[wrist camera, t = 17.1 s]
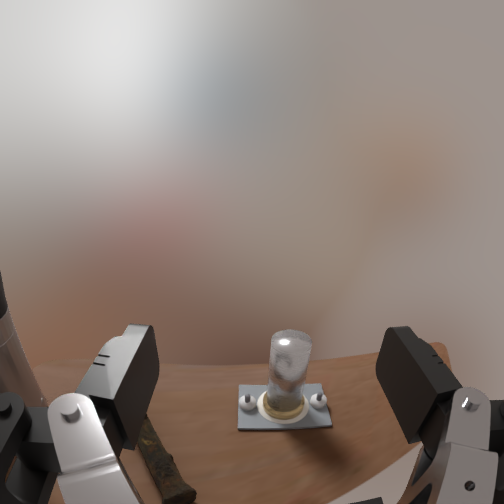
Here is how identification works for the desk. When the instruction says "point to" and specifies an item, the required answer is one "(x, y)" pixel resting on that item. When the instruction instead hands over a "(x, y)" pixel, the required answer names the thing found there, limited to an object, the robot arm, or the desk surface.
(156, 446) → the hand tool
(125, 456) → the desk surface
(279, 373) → the clear glass cylinder
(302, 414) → the board
